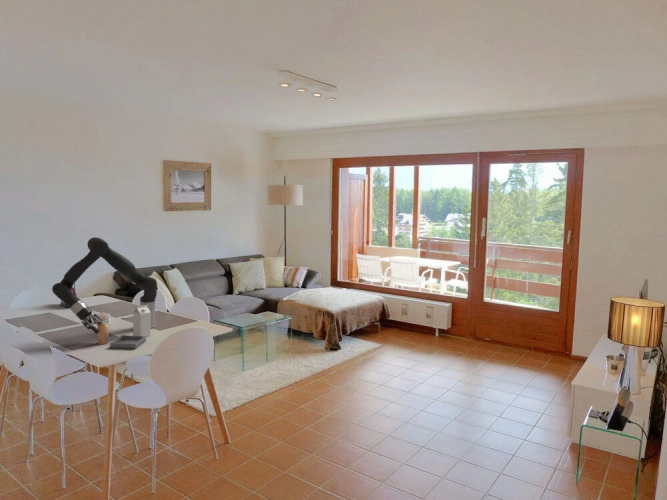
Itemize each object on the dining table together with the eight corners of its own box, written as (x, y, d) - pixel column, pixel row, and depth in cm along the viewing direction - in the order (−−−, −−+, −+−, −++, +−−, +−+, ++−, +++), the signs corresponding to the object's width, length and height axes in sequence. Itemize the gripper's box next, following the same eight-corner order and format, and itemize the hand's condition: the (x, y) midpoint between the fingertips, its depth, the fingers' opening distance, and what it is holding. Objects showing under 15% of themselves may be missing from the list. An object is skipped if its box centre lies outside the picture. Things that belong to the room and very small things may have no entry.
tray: (121, 340, 289) (122, 335, 289) (145, 341, 289) (145, 336, 289) (110, 348, 273) (110, 343, 273) (135, 349, 273) (135, 344, 273)
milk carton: (133, 336, 298) (133, 305, 296) (143, 333, 304) (143, 303, 302) (140, 338, 294) (140, 307, 292) (150, 336, 300) (150, 305, 298)
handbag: (82, 307, 365) (82, 274, 363) (68, 309, 358) (68, 275, 355) (71, 302, 379) (71, 270, 377) (57, 304, 372) (57, 272, 369)
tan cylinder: (100, 341, 284) (100, 323, 283) (110, 342, 284) (110, 323, 283) (95, 344, 279) (95, 325, 278) (105, 344, 279) (105, 325, 278)
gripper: (79, 308, 272) (100, 329, 274) (91, 303, 286) (111, 323, 288) (70, 317, 273) (90, 338, 274) (82, 311, 287) (102, 331, 288)
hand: (101, 330), depth 281 cm, fingers open, 8 cm apart
